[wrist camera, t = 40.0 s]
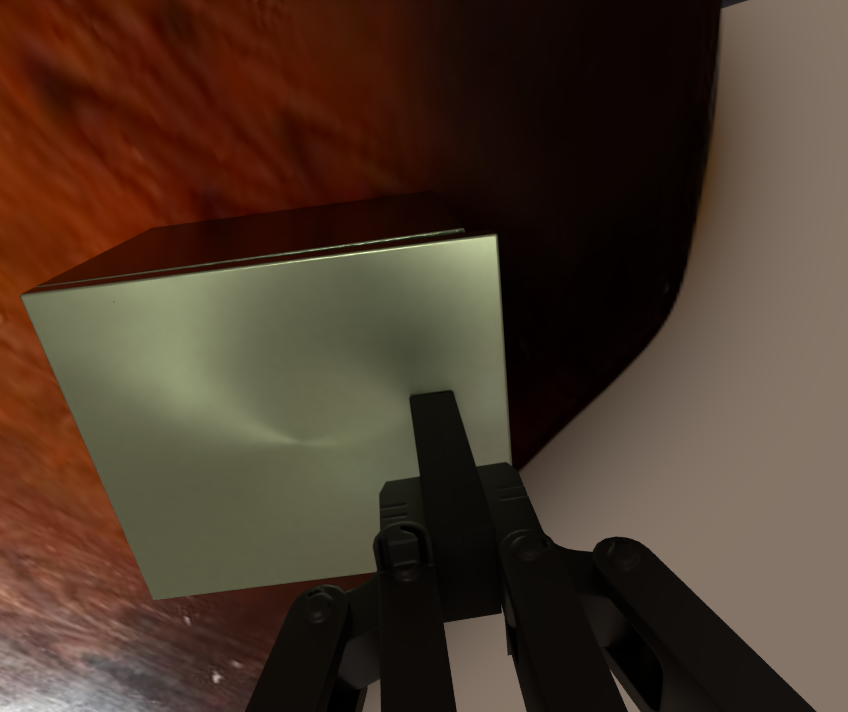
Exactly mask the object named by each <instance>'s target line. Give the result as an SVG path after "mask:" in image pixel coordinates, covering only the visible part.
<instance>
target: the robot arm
mask: <svg viewBox="0 0 848 712" xmlns="http://www.w3.org/2000/svg"><path fill="white" fill-rule="evenodd" d="M409 402H410V409H411V416H412V423H413V430H414V437H415V445H416V452H417V459H418V466H419V473H420V476H418V477H412V478H405V479H399V480H392V481H386V482H385V484H384V486H383V488H382V489H381V491H380V493H379V508H380V509H379V512H380V532H379V533H378V534H377V535H376V536H375V538H374V542H373V546H372V547H373V552H374V556H375V561H376V566H377V571H376V572H375V574H374V575H373V576H372V577H371V578H370V579H369V580H368V581H366V582H365V583H363V584H361V585H360V586H358V587H356V588H354V589H351V590H349V591H347V592H345V591H343V590H342V589H341V588H339V587H338V586H333V585H328V584H327V585H319V586H315V587H313V588H311V589H308V590H306V591H305V592H303V593H302V594H301V595H300V596H299V597H297V598H296V600H295V601H294V603H293V604H292V606H291V607H290V609H289V612H288V614H287V616H286V618H285V621H284V623H283V625H282V628H281V630H280V632H279V635H278V637H277V639H276V641H275V644H274V646H273V648H272V651H271V653H270V655H269V658H268V660H267V662H266V664H265V667H264V669H263V671H262V674H261V676H260V678H259V681H258V683H257V685H256V687H255V690H254V692H253V694H252V697H251V699H250V701H249V704H248V706H247V708H246V710H245V712H362V710H363V706H364V702H365V698H366V694H367V686H368V685H369V684H371V683H373V682H375V681H377V680H379V679H380V683H381V684H380V685H381V712H457V710H456V703H455V697H454V690H453V683H452V677H451V670H450V664H449V657H448V650H447V644H446V637H445V630H444V624H443V623H445V622H451V621H457V620H463V619H469V618H476V617H482V616H487V615H494V614H500V613H502V610H501V605H502V609H503V612H504V616H505V625H506V638H507V651H508V655H512V657H513V661H514V665H515V669H516V673H517V676H518V680H519V684H520V688H521V691H522V695H523V699H524V703H525V707H526V711H527V712H628V711H627V708H626V706H625V704H624V702H623V700H622V697H621V695H620V693H619V690H618V688H617V685H616V683H615V681H614V678H613V676H612V674H611V672H610V670H611V671H612V673H613V674H614V676H615V677H616V678H617V679H618V681H619V682H620V684H621V685H622V686H623V688H624V689H625V691H626V692H627V694H628V695H629V696H630V698H631V699H632V700H633V702H634V703H635V704H636V706H637V707H638V709H639V710H640V711H641V712H816V711H815V710H814V709H813V708H812V707H811V706H810V705H809V704H808V703H807V702H806V701H805V700H804V699H803V698H802V697H801V696H800V695H799V694H798V693H797V692H796V691H794V689H793V688H792V687H791V686H789V684H788V683H786V682H785V681H784V680H783V679H782V678H781V677H780V676H779V675H778V674H777V673H776V672H775V671H774V670H773V669H772V668H771V667H770V666H769V665H768V664H767V663H766V662H765V661H764V660H763V659H762V658H761V657H760V656H759V655H758V654H756V652H755V651H754V650H753V649H752V648H750V647H749V646H748V645H747V644H746V643H745V642H744V641H743V640H742V639H741V638H740V637H739V636H738V635H737V634H736V633H735V632H734V631H733V630H732V629H731V628H730V627H729V626H728V625H727V624H726V623H725V622H724V621H723V620H722V619H721V618H720V617H719V616H718V615H716V614H715V613H714V612H713V611H712V610H711V609H710V608H709V607H708V606H707V605H706V604H705V603H704V602H703V601H702V600H701V599H700V598H699V597H698V596H697V595H696V594H695V593H694V592H693V591H692V590H691V589H690V588H689V587H688V586H686V584H685V583H684V582H683V581H681V580H680V579H679V578H678V577H677V576H676V575H675V574H674V573H673V572H672V571H671V570H670V569H669V568H668V567H667V566H666V565H665V564H664V563H663V562H662V561H661V560H660V559H659V558H658V557H657V556H656V555H655V554H654V553H652V551H651V550H650V549H649V548H647V547H646V546H644V545H643V544H641V543H640V542H638V541H635V540H633V539H630V538H626V537H612V538H606V539H604V540H602V541H601V542H599V543H597V545H596V547H595V548H594V550H593V552H588V551H577V550H571V549H566V548H564V547H561V546H559V545H557V544H555V543H554V542H553V541H552V539H551V538H550V537H549V536H547V535H546V534H545V533H544V532H543V530H542V528H541V525H540V523H539V520H538V518H537V516H536V513H535V511H534V509H533V506H532V504H531V501H530V499H529V497H528V496H527V492H526V490H525V487H524V486H523V483H522V480H521V478H520V475H519V473H518V471H517V470H516V469H514V468H513V467H512V466H511V465H510V464H508V463H507V462H502V463H495V464H489V465H482V466H476V464H475V461H474V457H473V454H472V451H471V448H470V444H469V441H468V438H467V435H466V431H465V428H464V425H463V422H462V418H461V415H460V412H459V409H458V405H457V402H456V399H455V396H454V392H447V393H440V394H433V395H426V396H420V397H413V398H409Z"/></svg>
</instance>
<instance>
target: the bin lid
mask: <svg viewBox="0 0 848 712" xmlns="http://www.w3.org/2000/svg"><path fill="white" fill-rule="evenodd" d="M20 298H21V300H22V302H23V305H24V307H25V309H26V311H27V314H28V316H29V318H30V321H31V323H32V325H33V327H34V330H35V332H36V334H37V336H38V339H39V341H40V343H41V346H42V348H43V350H44V352H45V355H46V357H47V359H48V361H49V364H50V366H51V368H52V371H53V373H54V375H55V377H56V380H57V382H58V384H59V386H60V389H61V391H62V393H63V396H64V398H65V400H66V402H67V405H68V407H69V409H70V411H71V414H72V416H73V418H74V421H75V423H76V425H77V427H78V430H79V432H80V434H81V436H82V439H83V441H84V443H85V446H86V448H87V450H88V452H89V455H90V457H91V459H92V461H93V464H94V466H95V468H96V471H97V473H98V475H99V477H100V480H101V482H102V484H103V486H104V489H105V491H106V493H107V496H108V498H109V500H110V502H111V505H112V507H113V509H114V511H115V514H116V516H117V518H118V521H119V523H120V525H121V527H122V530H123V532H124V534H125V536H126V539H127V541H128V543H129V546H130V548H131V550H132V552H133V555H134V557H135V559H136V561H137V564H138V566H139V568H140V571H141V573H142V575H143V577H144V580H145V582H146V584H147V586H148V589H149V591H150V593H151V596H152V598H153V599H154V600H157V599H165V598H173V597H181V596H189V595H197V594H205V593H213V592H220V591H228V590H236V589H244V588H252V587H260V586H268V585H276V584H284V583H292V582H300V581H307V580H315V579H323V578H331V577H339V576H347V575H355V574H363V573H371V572H376V571H377V566H376V561H375V556H374V552H373V547H372V546H373V542H374V538H375V536H376V535H377V534H378V533H379V532H380V512H379V509H380V508H379V493H380V491H381V489H382V488H383V486H384V484H385V482H386V481H392V480H399V479H405V478H412V477H418V476H420V473H419V466H418V459H417V452H416V445H415V437H414V430H413V423H412V416H411V409H410V402H409V398H413V397H420V396H426V395H433V394H440V393H447V392H454V396H455V399H456V402H457V405H458V409H459V412H460V415H461V418H462V422H463V425H464V428H465V431H466V435H467V438H468V441H469V444H470V448H471V451H472V454H473V457H474V461H475V464H476V466H482V465H489V464H495V463H502V462H507V463H508V464H510V465H511V466H512V457H511V441H510V425H509V409H508V392H507V376H506V360H505V343H504V327H503V311H502V295H501V278H500V262H499V246H498V235H497V233H496V232H495V231H494V230H493V229H488V230H480V231H472V232H464V233H457V234H449V235H441V236H433V237H425V238H418V239H410V240H402V241H394V242H386V243H378V244H371V245H363V246H355V247H347V248H339V249H331V250H324V251H316V252H308V253H300V254H292V255H285V256H277V257H269V258H261V259H253V260H245V261H238V262H230V263H222V264H214V265H206V266H199V267H191V268H183V269H175V270H167V271H159V272H152V273H144V274H136V275H128V276H120V277H113V278H105V279H97V280H89V281H81V282H73V283H66V284H58V285H50V286H42V287H35V288H33V289H31V290H29V291H26V292H24V293H22V294H21V295H20Z"/></svg>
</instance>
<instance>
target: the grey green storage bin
mask: <svg viewBox="0 0 848 712" xmlns="http://www.w3.org/2000/svg"><path fill="white" fill-rule="evenodd" d="M464 232H465V229H464V228H463V226H462V225H461V224H460V223H459V222H458V221H457V219H456V218H455V217H454V216H453V215H452V214H451V212H450V211H449V210H448V209H447V208H446V207H445V205H444V204H443V203H442V202H441V201H440V200H439V198H438V197H437V196H436V195H435V194H434V192H433V191H426V192H419V193H412V194H404V195H397V196H389V197H382V198H374V199H367V200H359V201H352V202H344V203H337V204H329V205H322V206H314V207H307V208H299V209H292V210H285V211H277V212H270V213H262V214H255V215H247V216H240V217H232V218H225V219H217V220H210V221H202V222H195V223H187V224H180V225H173V226H165V227H158V228H151V229H149V230H147V231H145V232H143V233H141V234H139V235H137V236H135V237H133V238H131V239H129V240H127V241H125V242H123V243H121V244H119V245H117V246H115V247H113V248H111V249H109V250H107V251H105V252H103V253H101V254H99V255H97V256H95V257H93V258H91V259H89V260H87V261H85V262H83V263H81V264H79V265H77V266H75V267H74V268H72V269H70V270H68V271H66V272H64V273H62V274H60V275H58V276H56V277H54V278H52V279H50V280H48V281H46V282H44V283H42V284H40V285H38V286H36V287H42V286H50V285H58V284H66V283H73V282H81V281H89V280H97V279H105V278H113V277H120V276H128V275H136V274H144V273H152V272H159V271H167V270H175V269H183V268H191V267H199V266H206V265H214V264H222V263H230V262H238V261H245V260H253V259H261V258H269V257H277V256H285V255H292V254H300V253H308V252H316V251H324V250H331V249H339V248H347V247H355V246H363V245H371V244H378V243H386V242H394V241H402V240H410V239H418V238H425V237H433V236H441V235H449V234H457V233H464Z"/></svg>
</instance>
